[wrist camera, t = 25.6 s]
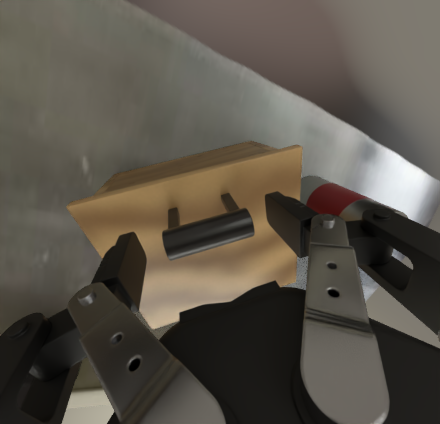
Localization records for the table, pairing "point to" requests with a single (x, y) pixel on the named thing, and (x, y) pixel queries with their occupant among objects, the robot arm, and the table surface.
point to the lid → (200, 231)
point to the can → (336, 199)
